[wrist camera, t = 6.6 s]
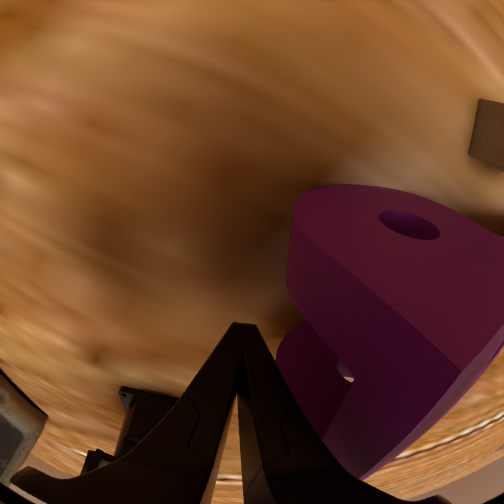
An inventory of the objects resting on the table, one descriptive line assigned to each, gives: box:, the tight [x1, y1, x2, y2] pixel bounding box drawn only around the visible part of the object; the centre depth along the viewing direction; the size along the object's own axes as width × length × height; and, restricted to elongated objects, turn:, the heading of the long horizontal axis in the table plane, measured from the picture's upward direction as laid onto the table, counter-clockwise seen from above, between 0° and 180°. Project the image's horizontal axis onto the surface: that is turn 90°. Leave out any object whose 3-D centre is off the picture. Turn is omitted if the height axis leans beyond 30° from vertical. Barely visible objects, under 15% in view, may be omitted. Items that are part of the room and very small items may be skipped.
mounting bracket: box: [275, 185, 504, 481], centre depth 13 cm, size 10×8×18 cm
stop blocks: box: [469, 99, 504, 171], centre depth 12 cm, size 20×3×4 cm, turn 173°
